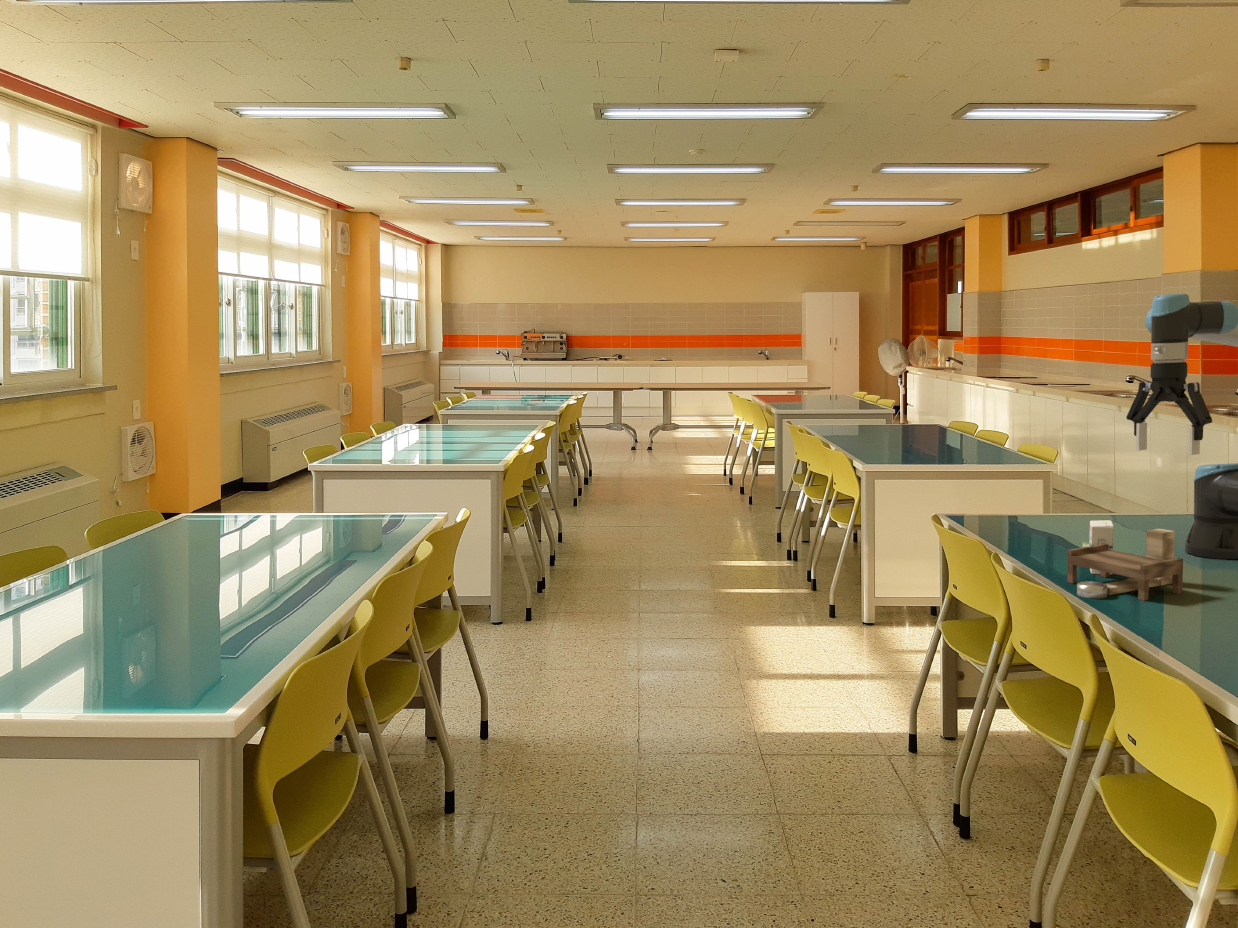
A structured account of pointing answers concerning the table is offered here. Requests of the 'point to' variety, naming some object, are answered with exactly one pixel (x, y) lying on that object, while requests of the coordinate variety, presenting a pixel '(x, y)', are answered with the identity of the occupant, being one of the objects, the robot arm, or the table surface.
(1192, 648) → the table surface
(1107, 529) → the ink box
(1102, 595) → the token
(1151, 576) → the riser
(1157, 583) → the bookend
